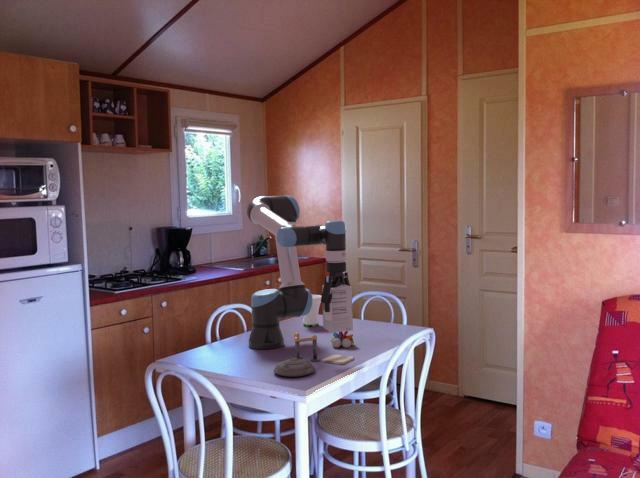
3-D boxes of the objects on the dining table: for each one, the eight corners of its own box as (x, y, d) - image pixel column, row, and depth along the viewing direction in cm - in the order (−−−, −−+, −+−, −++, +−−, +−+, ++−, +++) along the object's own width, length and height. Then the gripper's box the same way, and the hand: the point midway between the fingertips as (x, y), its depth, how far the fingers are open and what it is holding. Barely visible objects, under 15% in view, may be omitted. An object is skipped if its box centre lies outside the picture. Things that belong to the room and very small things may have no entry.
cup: (326, 324, 299) (326, 295, 298) (314, 328, 290) (313, 299, 289) (307, 321, 305) (306, 293, 304) (295, 326, 296) (294, 297, 295)
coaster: (322, 361, 233) (322, 359, 233) (333, 356, 241) (333, 354, 241) (342, 364, 229) (342, 362, 229) (354, 358, 236) (354, 356, 236)
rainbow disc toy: (352, 349, 251) (352, 331, 251) (329, 348, 253) (329, 331, 253) (355, 344, 260) (355, 327, 259) (333, 343, 262) (332, 326, 261)
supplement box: (322, 327, 237) (321, 284, 236) (344, 325, 240) (343, 283, 238) (330, 333, 228) (329, 288, 226) (353, 330, 231) (352, 286, 229)
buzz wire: (282, 362, 234) (281, 336, 233) (296, 356, 242) (295, 331, 241) (308, 366, 228) (307, 340, 227) (321, 359, 236) (320, 334, 235)
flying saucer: (288, 382, 210) (288, 366, 209) (265, 372, 222) (265, 357, 222) (323, 374, 219) (323, 358, 218) (299, 365, 231) (299, 350, 230)
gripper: (328, 265, 219) (329, 324, 221) (359, 258, 240) (360, 311, 242) (310, 264, 223) (312, 322, 225) (343, 257, 244) (344, 310, 246)
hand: (337, 317), depth 233 cm, fingers closed on supplement box, 13 cm apart
